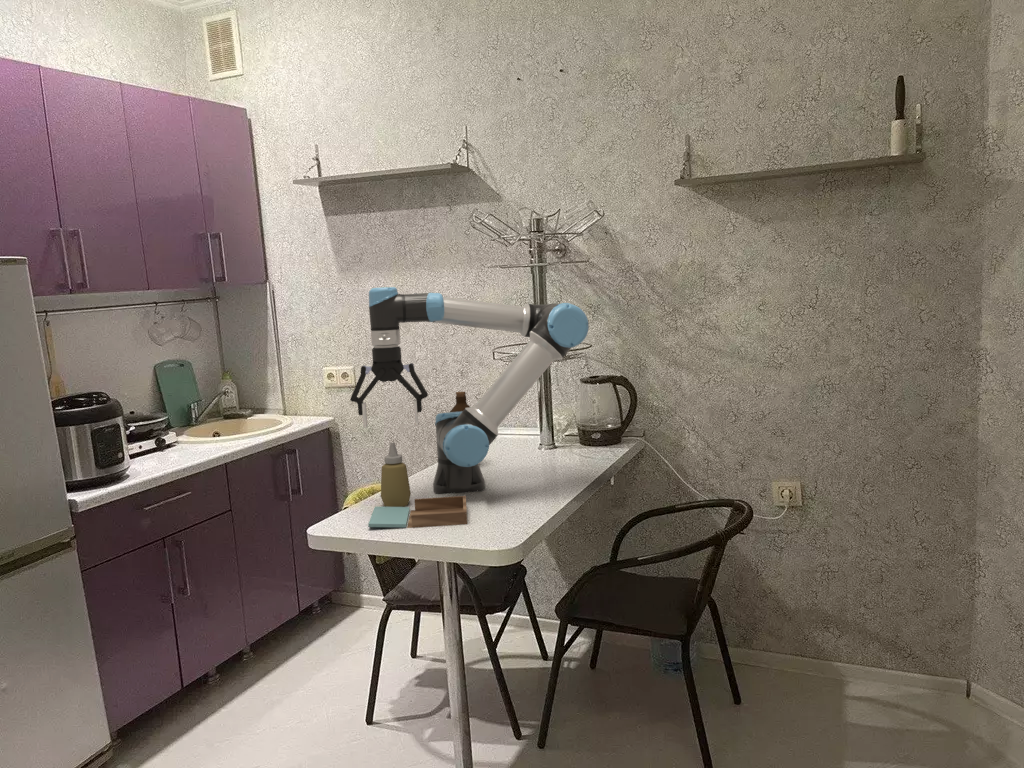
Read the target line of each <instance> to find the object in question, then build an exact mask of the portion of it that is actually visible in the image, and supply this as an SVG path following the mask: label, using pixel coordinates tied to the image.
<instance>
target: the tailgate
mask: <svg viewBox="0 0 1024 768" xmlns="http://www.w3.org/2000/svg"><path fill="white" fill-rule="evenodd" d="M410 511H411V509H410V506H405V507H385V506H374V508H373V511H372V513H371V516H370V518H369V521H368V525H367V527H368V528H407V525H408V521H409V516H410Z"/></svg>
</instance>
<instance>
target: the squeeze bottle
mask: <svg viewBox="0 0 1024 768" xmlns="http://www.w3.org/2000/svg"><path fill="white" fill-rule="evenodd" d="M407 468H408V467H407V464H405V463H404V462H403V456H402V454H399V453H398V451H397V448H396V443H395V442H390V443H389V448H388V455H385V456H384V464H383V465H382V466H381V472H380V473H381V476H380V477H381V478H380V498H381V501H382V503H383V507H408V506H409V502H410V500H411V495H412V492H411V487H410V480H409V475H408V469H407Z"/></svg>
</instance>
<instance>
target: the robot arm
mask: <svg viewBox="0 0 1024 768" xmlns="http://www.w3.org/2000/svg"><path fill="white" fill-rule="evenodd" d="M368 312H369V320H370V321H369V322H370V323H369V324H370V338H371V339H370V341H371V346H372V349H371V352H372V353H371V354H372V356H371V357H372V365H371V366H369V365H366V364H365V365H364V364H363V365H361V367H360V375H359V377H358V380H357V383H356V385H355V388H354V390H353V392H352V394H351V395H350V396H351V397H350V401H351V402H353V403H354V402H355V403H356V404H357V412H358V415H359V416H362V424H363V429H367V428H368V427H369V426H368V414H367V413H368V411H367V402H364V400H365V399H366V398H367V396H368V395H369V394H370V392H371V391H373V390H372V389H374V387H375V386H376V384H377V383H378V382H379V381H380V382H381V383H387V382H395V381H398V382H399V383H400V384H401V385H403V387H404V388H405V389H406V391H408V392H409V393H410V394H411V396H413V398H415V399H414V400H413V409H414V410H413V412H414V414H413V415H414V425H415V426H418V425H419V413H422V410H423V408H422V406H423V405H422V404H423V403H422V400H423V399H425V398H427V397H428V395H429V394H428V392H427V389H426V388H425V386H424V384H423V383H422V381H421V379H420V377H419V376H418V374H417V372H416V370H415V366H414V363H413V362H409V363H408V364H403V362H402V348H401V346H399V345H400V344H401V331H400V330H401V329H400V324H401V323H402V324H406V323H423V322H424V323H425V322H427V323H436V324H446V325H451V326H460V327H461V326H462V327H467V328H469V327H471V328H476V329H477V328H478V329H487V330H495V331H503V332H512V333H519V335H521V337H523V338H524V337H525V338H529V341H528V342H527V344H526V345H525V346H524V347H523V348H522V349H521V350H520V351H519V352H518V354H517V355H516V356H515V358H513V360H512V361H511V362H510V363H509V364H508V366H507V367H506V368H505V370H504V371H503V372H502V373H501V374H500V375H499V377H498V378H497V379H496V380H495V381H494V382H493V384H492V385H491V386H490V387H489V388H488V390H487V391H486V392H485V393H484V394H483V395H482V396H481V397H480V398H479V400H478V401H477V403H475V404H474V406H472V407H471V406H470V407H469V408H465V409H464V410H463V411H461V412H450V411H448V412H440V413H437V414H436V416H435V422H434V425H435V435H436V453H437V454H436V455H437V468H436V472H435V475H434V480H433V482H432V487H433V489H432V490H433V493H435V494H437V495H445V494H447V495H448V494H462V493H463V494H464V493H477V492H479V493H480V492H482V491H484V490H486V480H485V478H484V475H483V473H482V470H481V467H480V463H481V462H483V461H484V459H485V458H486V457H487V455H488V452H489V450H490V446H491V445H492V443H493V442H494V441H495V440H496V439H497V437H498V436H499V430H498V429H499V426H500V425H501V424H502V422H503V421H504V420H505V419H506V418H507V417H508V416H509V415H510V413H511V412H512V411H513V410H514V408H515V407H516V406H517V405H518V404H519V402H520V401H522V399H523V398H524V396H525V395H526V394H527V393H528V392H529V391H530V389H531V388H532V387H533V386H534V384H535V383H536V382H537V381H538V380H539V379H540V377H541V376H542V375H543V374H544V373H545V371H547V369H548V368H549V367H550V365H551V364H552V363H553V362H555V361H556V360H557V361H560V360H563V359H564V357H565V356H566V355H567V354H568V353H569V352H570V350H571V349H572V348H575V347H577V346H579V345H580V344H582V343H583V341H585V339H586V338H587V335H588V332H589V330H590V329H589V319H588V317H587V314H586V313H585V312H584V310H582V308H581V307H579V306H577V305H575V304H573V303H569V302H562V303H556V302H555V303H546V304H532V303H525V304H524V305H522V306H521V305H513V304H506V303H505V304H503V303H495V302H488V301H480V300H479V301H478V300H471V299H464V298H454V297H449V296H448V297H447V296H443V294H442V293H440V292H424V293H423V292H422V293H419V292H418V293H415V292H414V293H406V294H404V293H399V292H398V289H397V287H395V286H389V287H373V288H371V289H370V290H368ZM404 370H406V372H407V373H409V374H410V376H411V378H412V379H413V381H414V383H415V385H416V387H417V389H418V390H419V392H420V393H419V392H418V391H417V390H416V389H415V388H414V386H412V385H411V384H410V383H409V382H408V381H407V380H406V378H405V377H404V376H402V373H403V371H404ZM370 372H372V374H374V376H375V377H374V378H373V379H372V380H371V382H369V385H368V386H367V387H366V389H364V391H363V392H362V394H361V395H360V397H358V395H359V393H360V390H361V389H362V386H363V383H364V381H365V378H366V376H367V375H368V374H370Z"/></svg>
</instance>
